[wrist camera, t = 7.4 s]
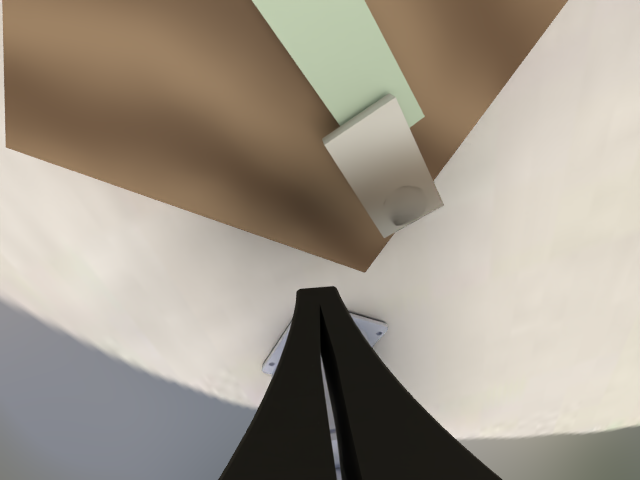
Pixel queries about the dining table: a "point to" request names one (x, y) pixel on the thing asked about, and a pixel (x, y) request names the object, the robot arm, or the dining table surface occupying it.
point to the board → (256, 110)
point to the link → (340, 54)
